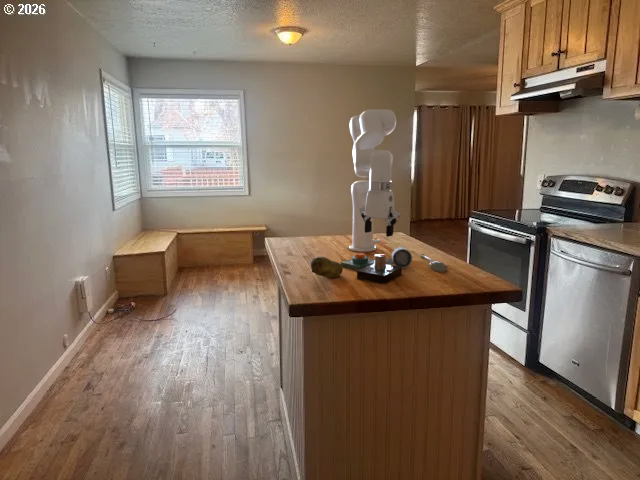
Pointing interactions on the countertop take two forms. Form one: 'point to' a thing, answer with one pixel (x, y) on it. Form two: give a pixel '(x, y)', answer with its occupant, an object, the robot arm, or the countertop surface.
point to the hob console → (379, 274)
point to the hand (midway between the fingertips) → (378, 234)
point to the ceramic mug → (400, 258)
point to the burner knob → (380, 262)
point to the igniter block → (357, 263)
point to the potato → (326, 267)
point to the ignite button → (360, 255)
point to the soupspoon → (436, 264)
